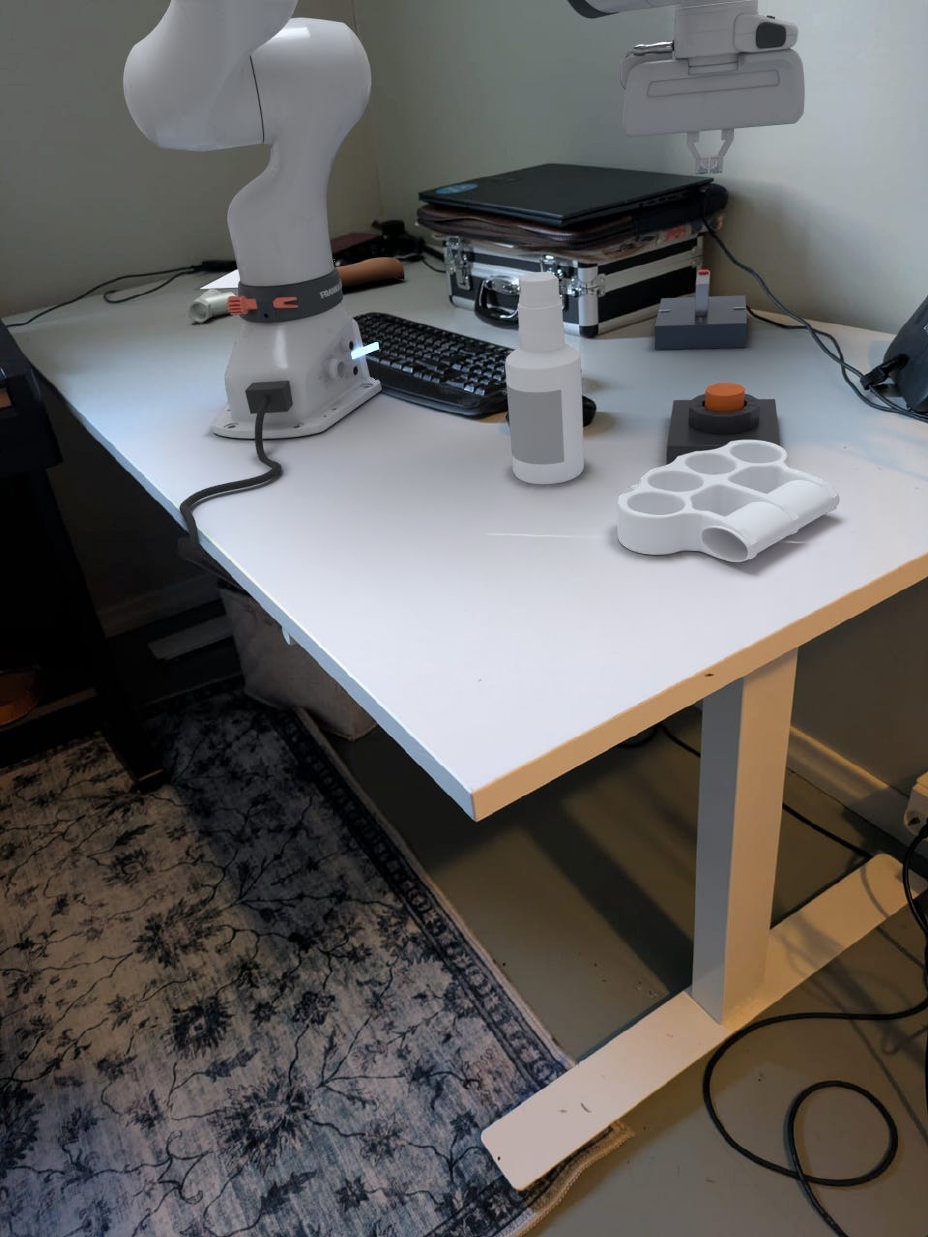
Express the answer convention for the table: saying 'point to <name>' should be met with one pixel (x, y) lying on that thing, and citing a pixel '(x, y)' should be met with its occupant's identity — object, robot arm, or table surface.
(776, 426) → the release housing
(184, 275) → the table surface
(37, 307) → the table surface
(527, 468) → the spray bottle
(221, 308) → the pipe fitting
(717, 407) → the release button
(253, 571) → the table surface
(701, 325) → the grey flat block
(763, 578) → the table surface
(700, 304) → the upright grey plate
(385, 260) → the sunglasses case
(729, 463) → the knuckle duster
